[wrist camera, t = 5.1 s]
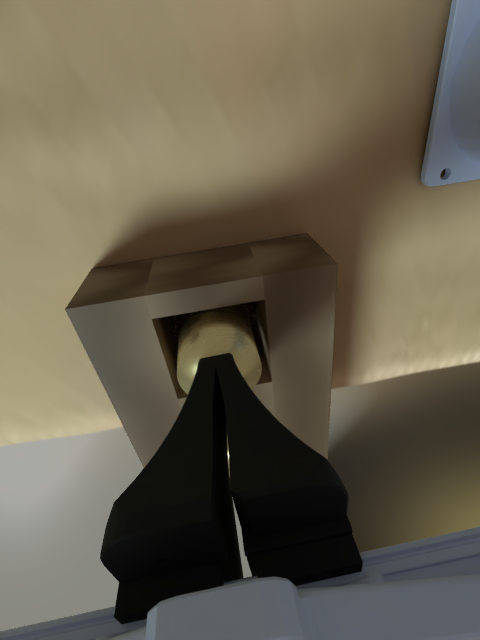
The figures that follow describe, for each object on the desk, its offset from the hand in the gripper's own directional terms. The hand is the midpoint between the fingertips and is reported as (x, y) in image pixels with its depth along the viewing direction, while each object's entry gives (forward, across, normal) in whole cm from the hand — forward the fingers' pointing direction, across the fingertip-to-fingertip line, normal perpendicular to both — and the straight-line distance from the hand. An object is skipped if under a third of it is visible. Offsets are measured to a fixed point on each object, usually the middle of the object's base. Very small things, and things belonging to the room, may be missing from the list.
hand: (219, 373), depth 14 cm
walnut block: (+5, 0, +4) cm, 7 cm away
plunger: (+4, 0, 0) cm, 4 cm away
